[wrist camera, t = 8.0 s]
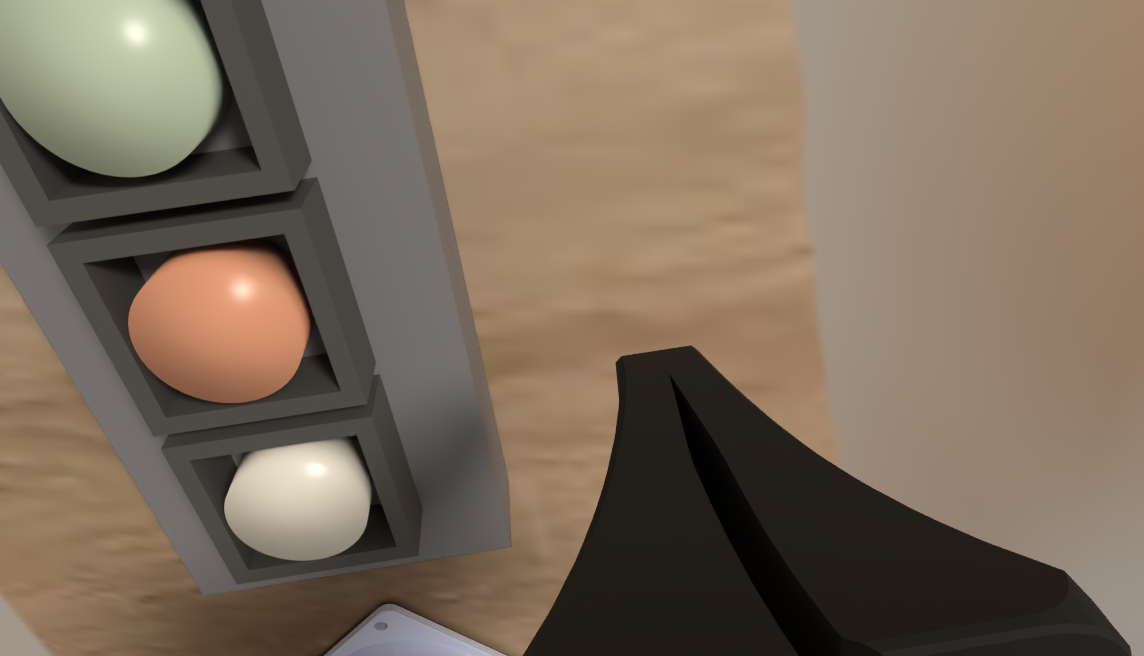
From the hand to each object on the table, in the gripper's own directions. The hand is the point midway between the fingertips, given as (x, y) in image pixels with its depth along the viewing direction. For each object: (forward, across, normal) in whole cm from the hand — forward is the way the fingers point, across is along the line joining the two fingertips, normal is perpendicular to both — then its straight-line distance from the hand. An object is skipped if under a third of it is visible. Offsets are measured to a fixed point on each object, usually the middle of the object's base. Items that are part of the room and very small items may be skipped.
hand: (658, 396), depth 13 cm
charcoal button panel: (+9, +9, 0) cm, 13 cm away
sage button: (+6, +9, -6) cm, 12 cm away
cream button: (+6, +9, +6) cm, 12 cm away
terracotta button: (+6, +9, 0) cm, 11 cm away
